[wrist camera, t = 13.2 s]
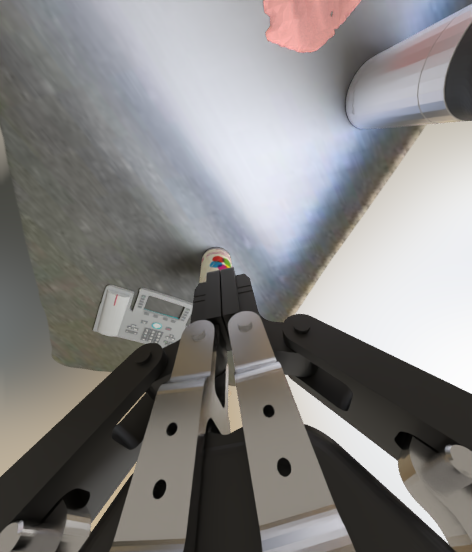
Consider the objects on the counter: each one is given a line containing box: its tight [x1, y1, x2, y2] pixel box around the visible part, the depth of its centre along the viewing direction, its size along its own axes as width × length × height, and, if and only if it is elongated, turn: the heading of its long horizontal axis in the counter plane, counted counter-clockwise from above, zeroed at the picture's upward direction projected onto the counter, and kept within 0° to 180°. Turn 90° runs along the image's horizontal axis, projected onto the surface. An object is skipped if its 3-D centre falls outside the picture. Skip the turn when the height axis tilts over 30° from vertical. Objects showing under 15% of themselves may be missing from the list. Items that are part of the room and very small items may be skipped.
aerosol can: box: [199, 247, 232, 283], centre depth 39 cm, size 7×7×20 cm
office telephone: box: [93, 284, 193, 348], centre depth 54 cm, size 23×3×20 cm
